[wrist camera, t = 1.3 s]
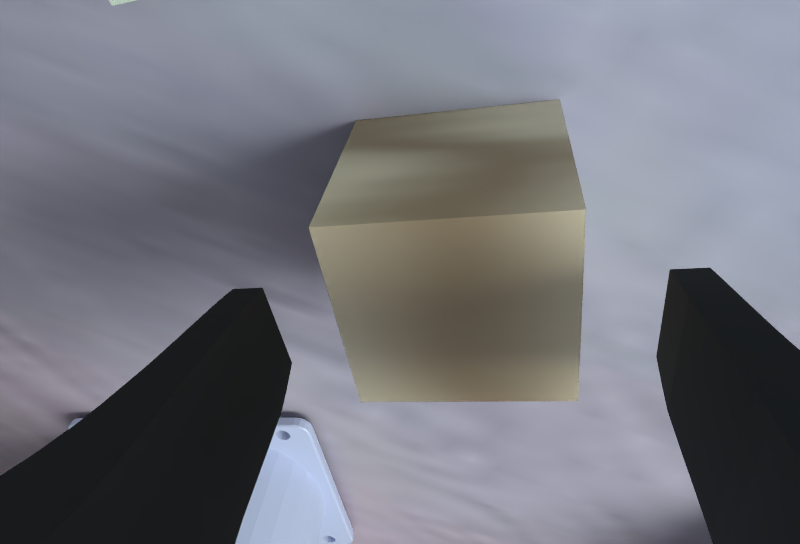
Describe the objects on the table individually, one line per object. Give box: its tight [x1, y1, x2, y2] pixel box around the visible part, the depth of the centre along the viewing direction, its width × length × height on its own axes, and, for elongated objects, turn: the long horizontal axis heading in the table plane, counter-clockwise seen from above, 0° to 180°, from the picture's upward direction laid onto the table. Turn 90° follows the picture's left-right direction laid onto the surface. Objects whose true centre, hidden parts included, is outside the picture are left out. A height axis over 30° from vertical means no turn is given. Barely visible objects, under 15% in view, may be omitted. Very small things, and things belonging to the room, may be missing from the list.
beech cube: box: [309, 100, 586, 402], centre depth 12 cm, size 4×4×4 cm
